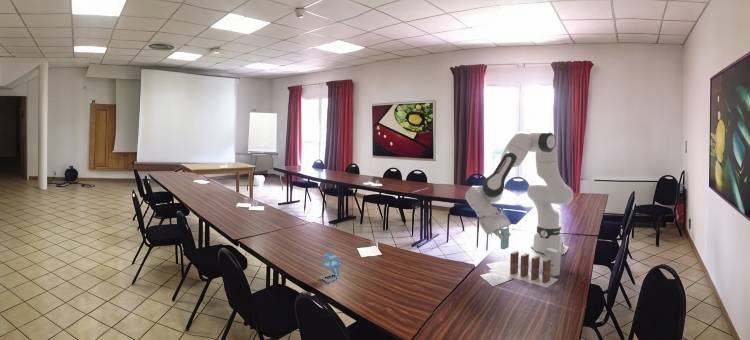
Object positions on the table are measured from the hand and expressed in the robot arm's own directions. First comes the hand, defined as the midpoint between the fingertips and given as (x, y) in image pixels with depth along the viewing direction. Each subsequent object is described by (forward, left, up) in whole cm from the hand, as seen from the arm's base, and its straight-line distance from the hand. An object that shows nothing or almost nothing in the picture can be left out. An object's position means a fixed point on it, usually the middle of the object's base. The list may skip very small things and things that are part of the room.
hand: (506, 237), depth 179 cm
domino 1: (0, -1, -5) cm, 5 cm away
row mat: (0, +8, -17) cm, 19 cm away
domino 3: (0, +9, -16) cm, 19 cm away
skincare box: (-12, +17, -17) cm, 27 cm away
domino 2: (0, +4, -16) cm, 17 cm away
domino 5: (0, +19, -17) cm, 25 cm away
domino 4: (0, +14, -17) cm, 22 cm away
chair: (+65, -53, -17) cm, 86 cm away
